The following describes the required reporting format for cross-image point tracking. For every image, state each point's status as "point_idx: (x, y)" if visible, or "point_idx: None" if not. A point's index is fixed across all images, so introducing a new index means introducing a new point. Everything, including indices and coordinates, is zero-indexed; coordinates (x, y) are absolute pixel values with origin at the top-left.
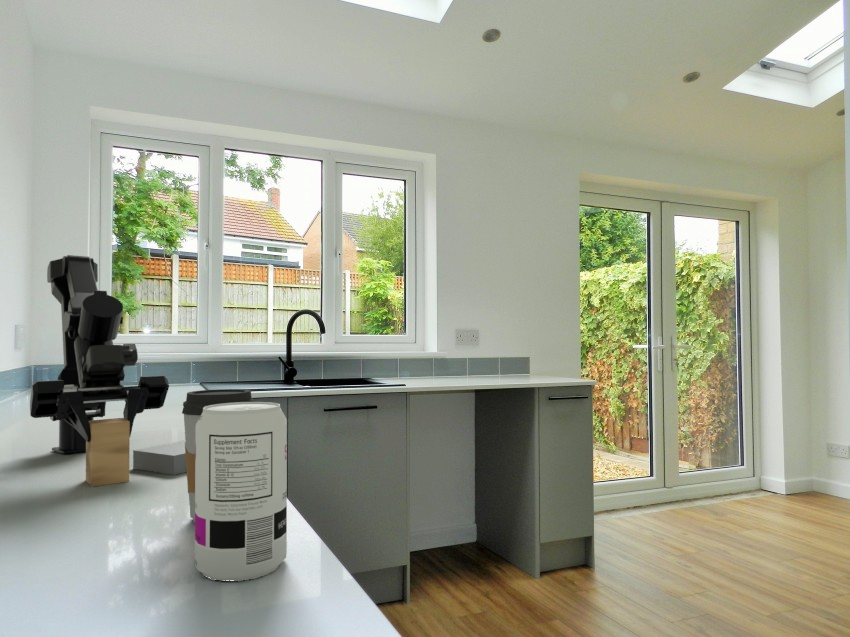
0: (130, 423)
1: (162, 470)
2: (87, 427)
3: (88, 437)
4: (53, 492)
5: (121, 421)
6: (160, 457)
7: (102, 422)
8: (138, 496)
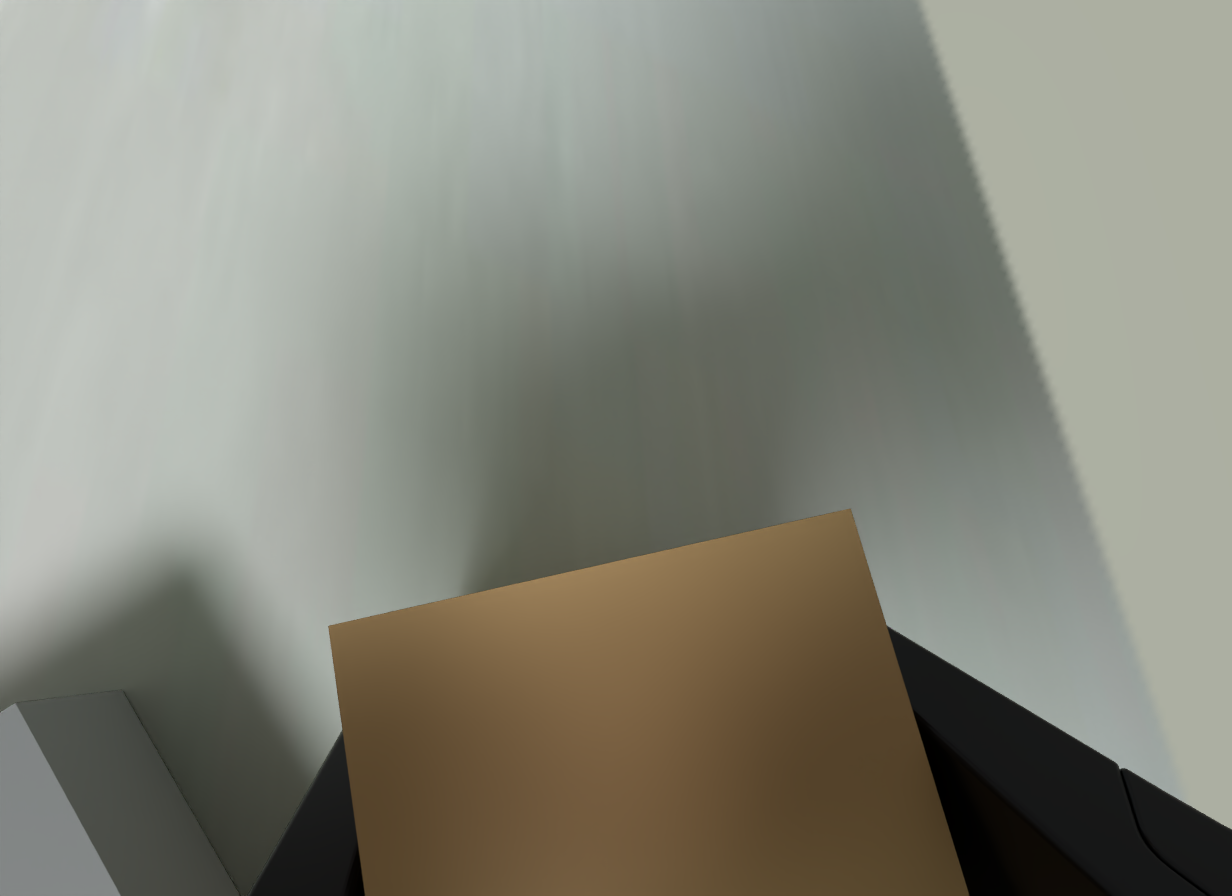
0: (318, 830)
1: (180, 818)
2: (906, 677)
3: None
4: (879, 535)
5: (454, 651)
6: (135, 876)
7: (733, 674)
8: (416, 202)
